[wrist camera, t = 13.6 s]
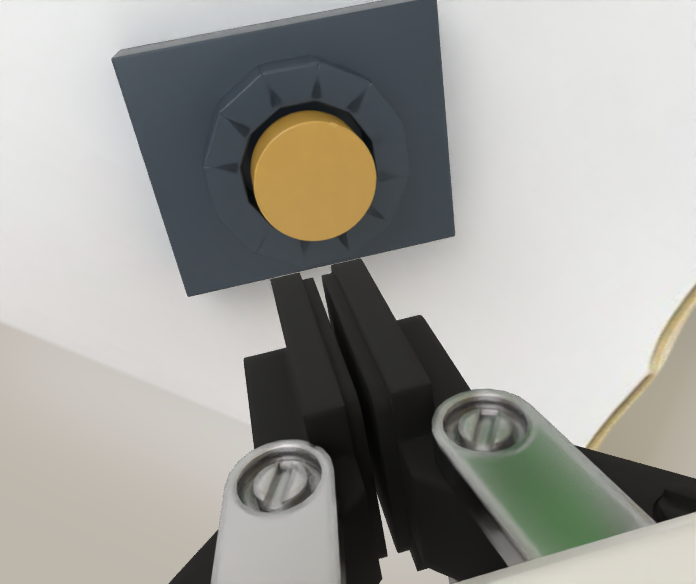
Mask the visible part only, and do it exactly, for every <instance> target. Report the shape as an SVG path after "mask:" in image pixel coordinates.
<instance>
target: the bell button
mask: <svg viewBox="0 0 696 584" xmlns="http://www.w3.org/2000/svg"><path fill="white" fill-rule="evenodd" d="M250 167H251V179H252V184H253V189H254V194H255V198H256V201H257V204H258V207H259V209H260V211H261V212H262V214H263V216H264V217H265V218H266V220H267V221H268V222H269V223H270V224H271V225H272V226H273V227H274V228H275V229H277V230H278V231H280V232H281V233H283V234H285V235H287V236H289V237H292V238H295V239H299V240H304V241H321V240H327V239H331V238H334V237H336V236H339V235H341V234H343V233H345V232H346V231H348V230H349V229H351V228H352V227H353V226H355V225H356V224H357V223H358V222H359V221H360V220H361V218H362V217H363V216H364V215H365V213H366V212H367V210H368V209H369V207H370V205H371V203H372V200H373V197H374V194H375V189H376V179H377V178H376V168H375V164H374V161H373V158H372V155H371V153H370V151H369V149H368V148H367V146H366V145H365V144H364V142H363V141H362V140H361V139H360V138H359V136H358V135H357V134H356V133H355V132H354V131H353V130H352V128H351V127H350V126H349V125H348V124H346V123H345V122H344V121H343V120H341V119H339V118H338V117H336V116H334V115H332V114H329V113H326V112H322V111H316V110H303V111H297V112H293V113H290V114H288V115H285V116H283V117H281V118H279V119H278V120H276V121H275V122H274V123H272V124H271V125H270V126H269V127H268V128H267V129H266V130H265V131H264V132H263V134H262V135H261V136H260V138H259V139H258V141H257V143H256V145H255V148H254V150H253V154H252V158H251V166H250Z"/></svg>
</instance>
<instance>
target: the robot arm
mask: <svg viewBox="0 0 696 584" xmlns="http://www.w3.org/2000/svg"><path fill="white" fill-rule="evenodd" d="M331 270H332V273H330V274H326V275H322V282H323V287H324V292H325V298H326V303H327V308H328V313H329V318H330V321H329V319H328V316H327V313H326V311H325V308H324V305H323V303H322V300H321V297H320V295H319V292H318V290H317V287H316V284H315V282H314V279H313V278H309V279H304V280H302V278H301V275H300V273H295V274H291V275H287V276H282V277H278V278H274V279H270V281H271V285H272V289H273V293H274V297H275V302H276V306H277V310H278V314H279V318H280V323H281V327H282V331H283V335H284V339H285V344H286V348H283V349H279V350H275V351H271V352H267V353H263V354H259V355H255V356H250V357H246V358H244V368H245V376H246V385H247V393H248V401H249V410H250V418H251V426H252V434H253V442H254V450H253V451H251V452H249V453H248V454H247V455H246V456H244V457H243V458H242V459H241V460H239V461H238V462H237V464H236V465H235V466H234V468H233V469H232V470H231V472H230V473H229V475H228V478H227V481H226V484H225V488H224V495H223V502H222V508H221V515H220V522H219V529H218V530H217V531H216V532H215V534H214V535H213V536H212V537H211V538H210V539H209V540H208V541H207V542H206V543H205V545H204V546H203V547H202V548H201V549H200V550H199V551H198V552H197V553H196V554H195V555H194V556H193V558H192V559H191V560H190V561H189V562H188V563H187V564H186V565H185V567H183V568H182V570H181V571H180V572H179V573H178V574H177V575H176V576H175V577H174V578H173V579H172V580H171V582H170V583H169V584H379V583H380V581H381V580H382V575H381V569H380V565H379V559H380V558H384V557H387V549H386V543H385V539H384V532H383V527H382V521H381V515H380V510H379V504H378V499H377V495H378V498H379V501H380V504H381V507H382V510H383V513H384V516H385V518H386V521H387V524H388V527H389V530H390V533H391V536H392V539H393V542H394V545H395V547H396V550H397V552H398V553H401V552H404V551H408V550H410V552H411V555H412V558H413V560H414V563H415V566H416V569H417V571H420V570H424V569H427V568H430V569H432V570H435V571H437V572H439V573H442V574H444V575H446V576H448V577H449V584H696V479H695V478H691V477H688V476H684V475H680V474H677V473H673V472H670V471H666V470H662V469H659V468H655V467H651V466H648V465H644V464H641V463H637V462H633V461H630V460H626V459H623V458H619V457H615V456H612V455H608V454H604V453H601V452H597V451H594V450H590V449H586V448H583V447H579V446H576V445H573V444H572V443H571V442H570V441H569V440H568V439H567V438H566V437H565V436H564V435H562V434H561V433H560V432H559V431H558V430H557V429H556V428H555V427H554V426H553V425H552V424H551V423H550V422H549V421H548V420H546V419H545V418H544V417H543V416H542V415H541V414H540V413H539V412H538V411H537V410H536V409H535V408H534V407H533V406H532V405H531V404H529V403H528V402H526V401H525V400H523V399H522V398H520V397H519V396H516V395H514V394H511V393H508V392H506V391H501V390H494V389H474V390H470V388H469V386H468V385H467V383H466V382H465V380H464V379H463V377H462V376H461V374H460V373H459V371H458V370H457V368H456V366H455V365H454V363H453V362H452V360H451V359H450V357H449V356H448V354H447V353H446V351H445V350H444V348H443V346H442V345H441V343H440V342H439V340H438V339H437V337H436V336H435V334H434V333H433V331H432V330H431V328H430V327H429V325H428V323H427V322H426V320H425V319H424V318H423V317H422V316H421V315H417V316H413V317H409V318H405V319H401V320H397V321H396V319H395V317H394V316H393V314H392V312H391V310H390V309H389V307H388V305H387V303H386V301H385V300H384V298H383V296H382V294H381V293H380V291H379V289H378V287H377V286H376V284H375V282H374V280H373V279H372V277H371V275H370V273H369V272H368V270H367V268H366V266H365V264H364V263H363V261H362V259H361V258H360V259H356V260H351V261H347V262H343V263H338V264H334V265H331ZM330 323H331V324H330ZM376 492H377V493H376Z"/></svg>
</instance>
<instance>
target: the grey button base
mask: <svg viewBox="0 0 696 584" xmlns="http://www.w3.org/2000/svg"><path fill="white" fill-rule="evenodd" d="M112 63H113V66H114V69H115V72H116V75H117V79H118V82H119V85H120V88H121V91H122V94H123V97H124V100H125V103H126V107H127V110H128V113H129V116H130V119H131V122H132V125H133V128H134V131H135V134H136V138H137V141H138V144H139V147H140V150H141V153H142V156H143V159H144V162H145V166H146V169H147V172H148V175H149V178H150V181H151V184H152V187H153V190H154V194H155V197H156V200H157V203H158V206H159V209H160V212H161V215H162V218H163V222H164V225H165V228H166V231H167V234H168V237H169V240H170V243H171V246H172V250H173V253H174V256H175V259H176V262H177V265H178V268H179V271H180V274H181V278H182V281H183V284H184V287H185V290H186V293H187V296H188V297H190V296H195V295H199V294H203V293H208V292H212V291H217V290H221V289H225V288H230V287H234V286H238V285H243V284H247V283H252V282H256V281H260V280H265V279H269V278H273V277H278V276H282V275H287V274H291V273H295V272H300V271H304V270H308V269H313V268H317V267H321V266H326V265H330V264H335V263H339V262H343V261H348V260H352V259H356V258H361V257H365V256H370V255H374V254H378V253H383V252H387V251H391V250H396V249H400V248H405V247H409V246H413V245H418V244H422V243H426V242H431V241H435V240H439V239H444V238H448V237H453V236H455V227H454V214H453V202H452V189H451V176H450V164H449V151H448V138H447V125H446V113H445V100H444V87H443V75H442V62H441V49H440V36H439V24H438V11H437V0H382V1H377V2H372V3H366V4H361V5H356V6H350V7H345V8H340V9H334V10H329V11H324V12H319V13H313V14H308V15H303V16H297V17H292V18H287V19H281V20H276V21H271V22H266V23H260V24H255V25H250V26H244V27H239V28H234V29H228V30H223V31H218V32H213V33H207V34H202V35H197V36H191V37H186V38H181V39H175V40H170V41H165V42H160V43H154V44H149V45H144V46H138V47H133V48H128V49H122V50H120V51H119V52H118V53H117V54H116V55H115V56H114V57H113V58H112ZM303 110H316V111H322V112H326V113H329V114H332V115H334V116H336V117H338V118H339V119H341V120H343V121H344V122H345V123H346V124H348V125H349V126H350V127H351V128H352V130H353V131H354V132H355V133H356V134H357V135H358V136H359V138H360V139H361V140H362V141H363V142H364V144H365V145H366V146H367V148H368V149H369V151H370V153H371V155H372V158H373V161H374V164H375V168H376V178H377V179H376V189H375V194H374V197H373V200H372V203H371V205H370V207H369V209H368V210H367V212H366V213H365V215H364V216H363V217H362V218H361V220H360V221H359V222H358V223H357V224H356V225H355V226H353V227H352V228H351V229H349V230H348V231H346V232H345V233H343V234H341V235H339V236H336V237H334V238H331V239H327V240H321V241H304V240H299V239H295V238H292V237H289V236H287V235H285V234H283V233H281V232H280V231H278V230H277V229H275V228H274V227H273V226H272V225H271V224H270V223H269V222H268V221H267V220H266V218H265V217H264V216H263V214H262V212H261V211H260V209H259V207H258V204H257V201H256V198H255V194H254V189H253V184H252V179H251V167H250V166H251V158H252V154H253V150H254V148H255V145H256V143H257V141H258V139H259V138H260V136H261V135H262V134H263V132H264V131H265V130H266V129H267V128H268V127H269V126H270V125H271V124H272V123H274V122H275V121H276V120H278V119H279V118H281V117H283V116H285V115H288V114H290V113H293V112H297V111H303Z"/></svg>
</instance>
